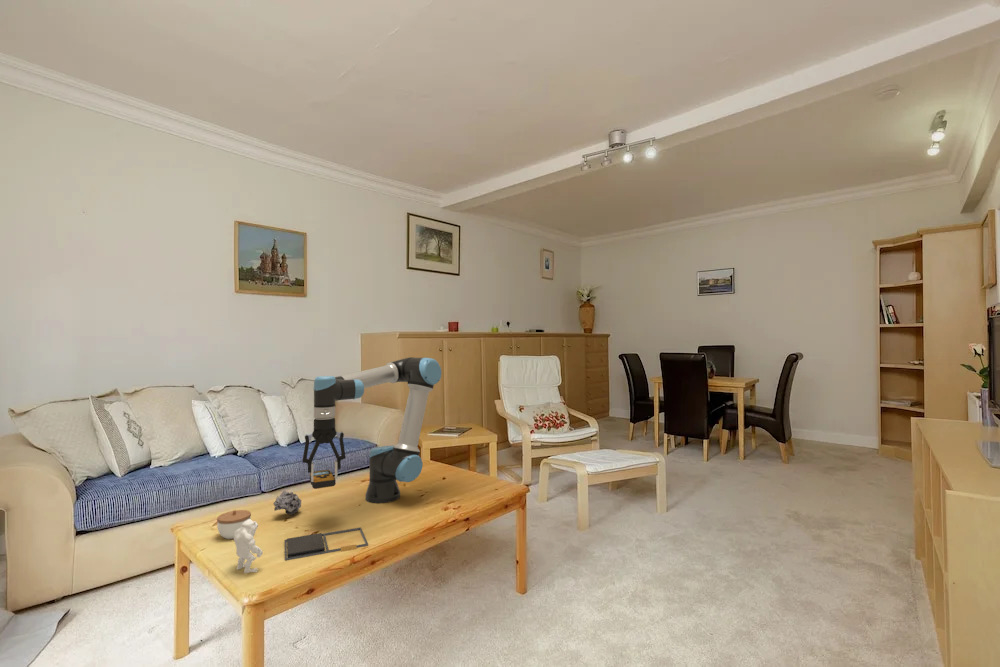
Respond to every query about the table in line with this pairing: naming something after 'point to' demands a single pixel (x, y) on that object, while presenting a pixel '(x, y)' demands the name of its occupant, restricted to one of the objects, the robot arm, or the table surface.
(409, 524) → the table surface
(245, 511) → the lidded jar
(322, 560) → the table surface
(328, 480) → the electronic device
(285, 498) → the mineral specimen
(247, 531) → the figurine
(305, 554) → the grey flat frame
